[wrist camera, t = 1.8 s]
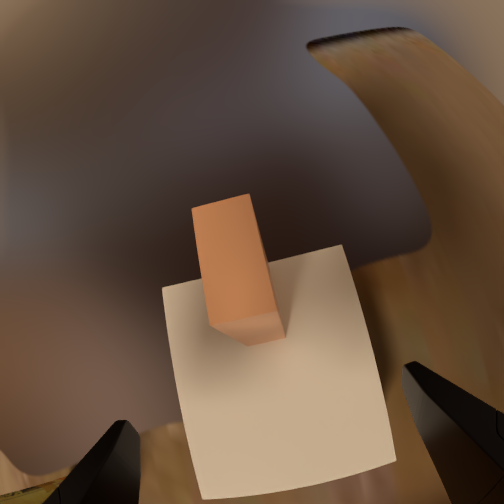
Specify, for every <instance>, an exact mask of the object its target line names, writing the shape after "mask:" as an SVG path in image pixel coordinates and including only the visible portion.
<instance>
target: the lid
mask: <svg viewBox="0 0 504 504" xmlns="http://www.w3.org/2000/svg"><path fill="white" fill-rule="evenodd" d="M192 214H193V222H194V229H195V236H196V243H197V249H198V257H199V263H200V270H201V276H202V279H198V280H193V281H190V282H185V283H181V284H177V285H172V286H168V287H164V288H162V293H163V301H164V309H165V317H166V324H167V331H168V338H169V344H170V350H171V357H172V363H173V369H174V375H175V380H176V385H177V391H178V397H179V402H180V407H181V412H182V417H183V422H184V426H185V431H186V435H187V440H188V444H189V449H190V453H191V457H192V461H193V465H194V469H195V473H196V477H197V481H198V485H199V488H200V492H201V496H202V499H220V498H232V497H242V496H251V495H259V494H266V493H273V492H279V491H285V490H291V489H296V488H301V487H306V486H311V485H315V484H319V483H324V482H328V481H332V480H336V479H340V478H343V477H347V476H351V475H354V474H357V473H361V472H364V471H367V470H370V469H374V468H377V467H380V466H383V465H386V464H388V463H391V462H394V461H396V456H395V451H394V445H393V439H392V434H391V429H390V424H389V419H388V414H387V409H386V404H385V400H384V395H383V391H382V386H381V382H380V378H379V373H378V369H377V365H376V361H375V357H374V353H373V349H372V345H371V341H370V338H369V334H368V330H367V326H366V323H365V319H364V316H363V312H362V309H361V305H360V302H359V298H358V295H357V291H356V288H355V285H354V281H353V278H352V275H351V272H350V269H349V265H348V262H347V259H346V256H345V253H344V250H343V247H342V245H338V246H334V247H329V248H325V249H321V250H317V251H314V252H309V253H305V254H301V255H297V256H294V257H289V258H285V259H281V260H277V261H273V262H269V263H268V261H267V258H266V254H265V250H264V246H263V242H262V239H261V235H260V231H259V227H258V224H257V220H256V217H255V213H254V209H253V205H252V202H251V198H250V195H249V194H245V195H242V196H237V197H233V198H230V199H226V200H222V201H218V202H215V203H210V204H207V205H203V206H199V207H196V208H192Z"/></svg>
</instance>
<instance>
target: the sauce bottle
mask: <svg viewBox="0 0 504 504" xmlns="http://www.w3.org/2000/svg"><path fill="white" fill-rule="evenodd" d="M66 477H67V476H65V477H62V478H59V479H56V480H53V481H50V482H47V483H44V484H40V485H37V486H34V487H30V488H27V489H23V490H20V491H15V492H12V493H8V494H4V495H1V496H0V504H42V503H43V502H44V501H45V500H46V499H47V498H48V497H49V496H50V495H51V493H52V492H53V491H54V490H55V489H56V488H57V487H59V485H60V483H61V482H62V481H63V480H64V479H65V478H66Z"/></svg>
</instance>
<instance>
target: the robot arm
mask: <svg viewBox="0 0 504 504" xmlns="http://www.w3.org/2000/svg"><path fill="white" fill-rule="evenodd" d="M401 384H402V388H403V391H404V394H405V397H406V399H407V402H408V405H409V408H410V411H411V414H412V416H413V419H414V422H415V425H416V427H417V429H418V432H419V434H420V436H421V438H422V440H423V442H424V444H425V446H426V448H427V450H428V452H429V454H430V457H431V459H432V461H433V463H434V465H435V467H436V469H437V472H438V474H439V476H440V478H441V480H442V483H443V485H444V487H445V489H446V492H447V494H448V496H449V499H450V501H451V503H452V504H504V413H502V412H500V411H498V410H497V411H496V409H495V408H493V407H492V406H490V405H488V404H487V403H485V402H483V401H482V400H480V399H478V398H477V397H475V396H473V395H472V394H470V393H468V392H467V391H465V390H463V389H462V388H460V387H458V386H457V385H455V384H453V383H452V382H450V381H448V380H447V379H445V378H443V377H442V376H440V375H438V374H437V373H435V372H433V371H432V370H430V369H428V368H427V367H425V366H423V365H422V364H420V363H418V362H416V361H413V362H410V363H407V364H405V365H404V366H403V370H402V380H401ZM140 477H141V466H140V436H139V434H138V432H137V431H136V430H135V429H134V427H133V426H132V425H131V424H130V423H129V421H127V420H118V421H116V422H114V424H113V425H112V426H111V427H110V428H109V429H108V430H107V432H106V433H105V434H104V435H103V436H102V437H101V438H100V439H99V441H98V442H97V443H96V444H95V445H94V446H93V447H92V449H91V450H90V451H89V452H88V453H87V454H86V455H85V456H84V458H83V459H82V460H81V461H80V462H79V463H78V464H77V465H76V467H75V468H74V469H73V470H72V471H71V472H70V473H69V475H68V476H67V477H66V478H65V479H64V480H63V481H62V482H61V483H60V485H59V487H57V488H56V489H55V490H54V491H53V492H52V493H51V495H50V496H49V497H48V498H47V499H46V500H45V501H44V502H43V503H42V504H138V502H139V490H140Z"/></svg>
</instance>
